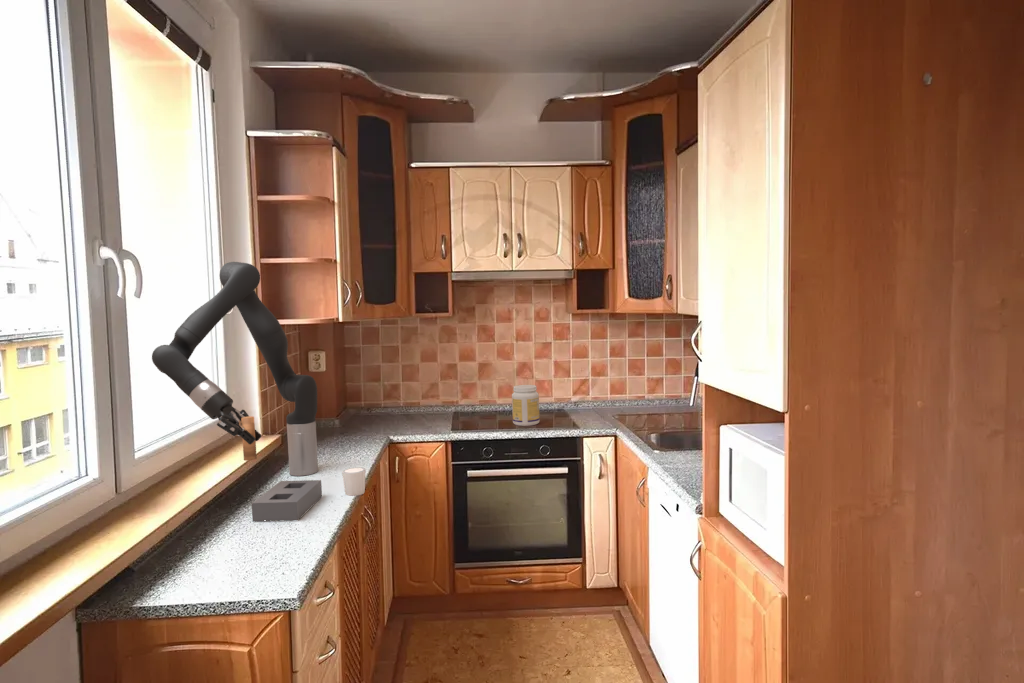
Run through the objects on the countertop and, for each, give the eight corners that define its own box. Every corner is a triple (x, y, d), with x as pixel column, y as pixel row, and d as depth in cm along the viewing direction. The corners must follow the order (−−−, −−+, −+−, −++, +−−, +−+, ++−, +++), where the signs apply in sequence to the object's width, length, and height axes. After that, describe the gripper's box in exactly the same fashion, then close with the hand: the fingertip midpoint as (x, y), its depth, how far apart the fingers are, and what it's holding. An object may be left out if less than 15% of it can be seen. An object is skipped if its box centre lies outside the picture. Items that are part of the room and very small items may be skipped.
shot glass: (342, 491, 192) (340, 468, 192) (365, 488, 195) (364, 465, 194) (344, 497, 186) (343, 474, 185) (368, 494, 188) (367, 471, 188)
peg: (247, 457, 183) (244, 416, 182) (258, 457, 183) (256, 416, 182) (241, 460, 180) (238, 418, 179) (253, 460, 179) (250, 418, 179)
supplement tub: (539, 420, 292) (538, 384, 290) (540, 426, 279) (539, 387, 278) (512, 421, 292) (511, 384, 291) (512, 426, 280) (511, 388, 279)
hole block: (281, 497, 188) (280, 481, 188) (322, 496, 188) (321, 480, 187) (252, 521, 168) (251, 503, 168) (297, 520, 168) (296, 502, 167)
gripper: (207, 393, 173) (254, 436, 173) (231, 386, 187) (274, 425, 188) (189, 413, 173) (236, 456, 174) (214, 404, 188) (258, 443, 188)
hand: (256, 440), depth 181 cm, fingers closed on peg, 3 cm apart
